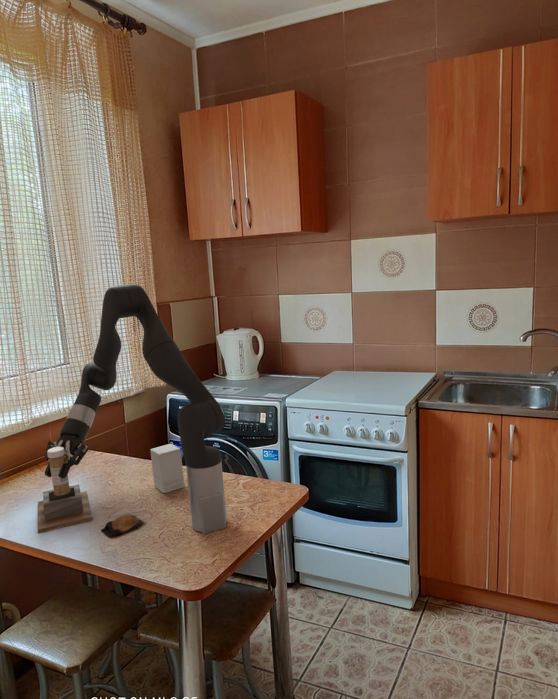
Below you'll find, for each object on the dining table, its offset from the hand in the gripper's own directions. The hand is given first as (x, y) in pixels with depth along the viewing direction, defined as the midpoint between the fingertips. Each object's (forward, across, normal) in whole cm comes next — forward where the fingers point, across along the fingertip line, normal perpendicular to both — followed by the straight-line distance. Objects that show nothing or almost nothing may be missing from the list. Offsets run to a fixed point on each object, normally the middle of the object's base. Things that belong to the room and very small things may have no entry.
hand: (54, 476), depth 156 cm
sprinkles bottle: (+3, 0, +6) cm, 6 cm away
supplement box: (-9, +21, +26) cm, 34 cm away
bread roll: (+10, +24, +7) cm, 27 cm away
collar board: (+7, 0, +9) cm, 12 cm away
